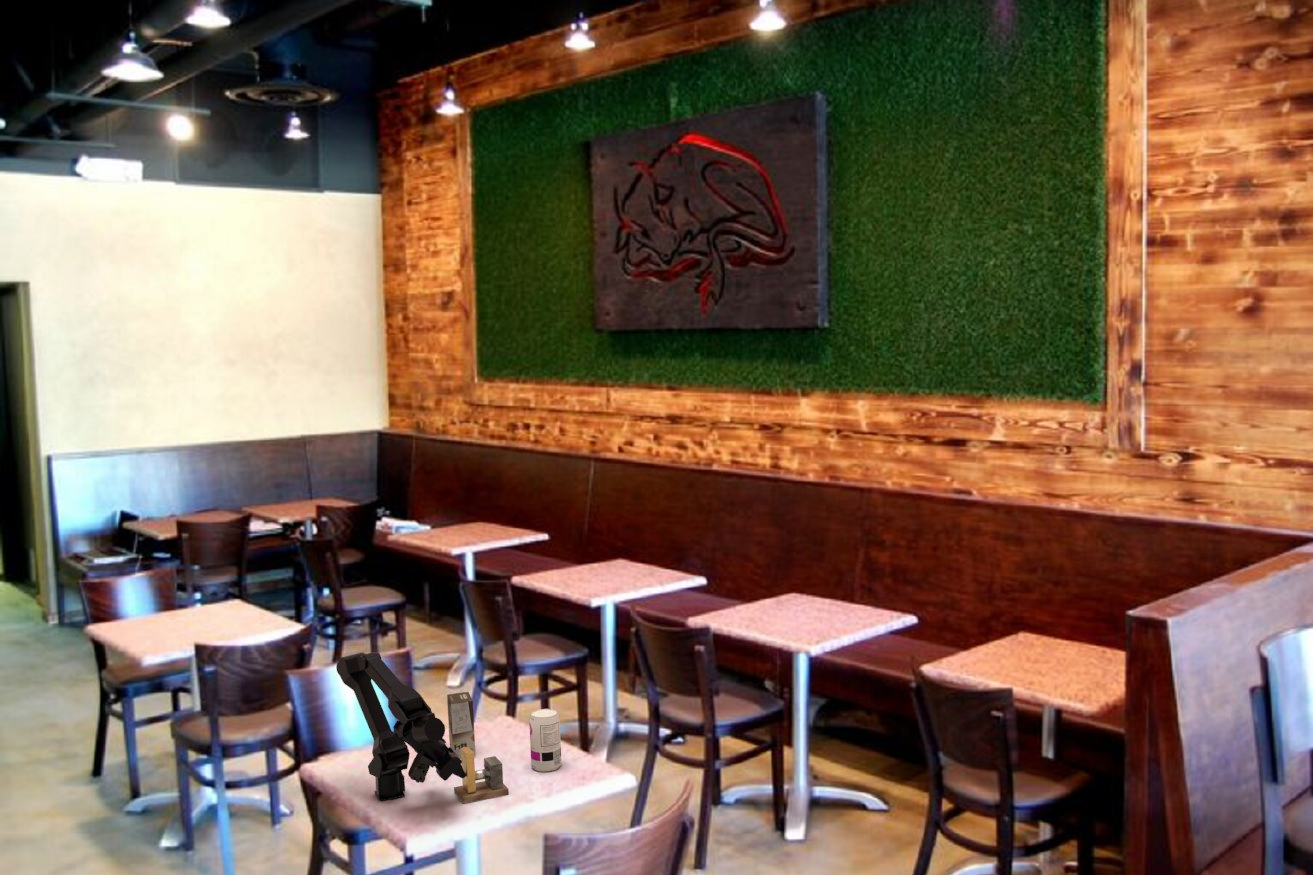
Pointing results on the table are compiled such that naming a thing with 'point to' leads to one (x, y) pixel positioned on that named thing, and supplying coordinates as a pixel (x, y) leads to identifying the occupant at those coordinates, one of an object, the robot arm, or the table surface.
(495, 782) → the peg insertion fixture
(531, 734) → the supplement can
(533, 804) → the table surface
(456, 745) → the coffee box
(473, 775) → the tan wooden tall block
